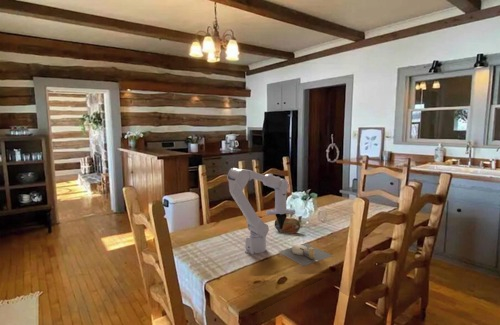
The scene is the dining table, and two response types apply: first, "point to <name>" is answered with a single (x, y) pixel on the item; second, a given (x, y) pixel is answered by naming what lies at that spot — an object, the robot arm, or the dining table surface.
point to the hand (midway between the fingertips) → (280, 228)
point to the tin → (289, 225)
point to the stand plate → (304, 259)
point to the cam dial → (303, 251)
